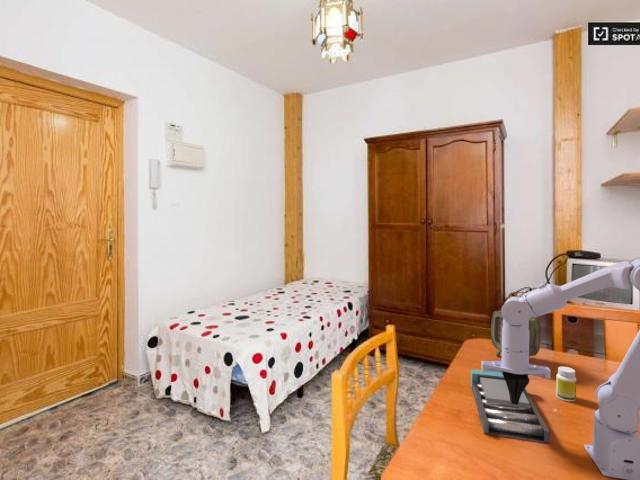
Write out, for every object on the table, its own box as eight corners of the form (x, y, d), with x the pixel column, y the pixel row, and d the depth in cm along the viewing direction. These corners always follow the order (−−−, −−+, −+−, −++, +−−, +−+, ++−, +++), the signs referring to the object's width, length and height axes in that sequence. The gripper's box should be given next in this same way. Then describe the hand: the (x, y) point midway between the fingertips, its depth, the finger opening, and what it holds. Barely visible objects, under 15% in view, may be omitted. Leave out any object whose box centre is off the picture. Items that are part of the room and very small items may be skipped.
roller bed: (549, 443, 81) (549, 432, 81) (483, 433, 85) (484, 422, 85) (523, 395, 102) (524, 386, 102) (472, 389, 106) (472, 380, 106)
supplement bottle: (579, 402, 98) (580, 373, 97) (560, 401, 99) (561, 372, 98) (570, 394, 102) (571, 366, 102) (552, 392, 103) (553, 365, 103)
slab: (529, 408, 90) (529, 403, 90) (486, 403, 93) (486, 397, 93) (517, 386, 101) (517, 381, 101) (479, 381, 104) (480, 377, 104)
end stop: (524, 396, 101) (525, 379, 101) (472, 390, 105) (472, 374, 105) (521, 390, 105) (522, 374, 104) (470, 384, 109) (471, 369, 108)
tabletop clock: (490, 354, 131) (491, 288, 129) (511, 352, 133) (513, 287, 131) (518, 371, 117) (521, 298, 115) (542, 369, 119) (545, 296, 117)
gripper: (544, 344, 86) (542, 397, 87) (479, 339, 90) (479, 390, 91) (554, 355, 79) (552, 413, 80) (484, 349, 83) (483, 404, 84)
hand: (514, 402), depth 85 cm, fingers closed
